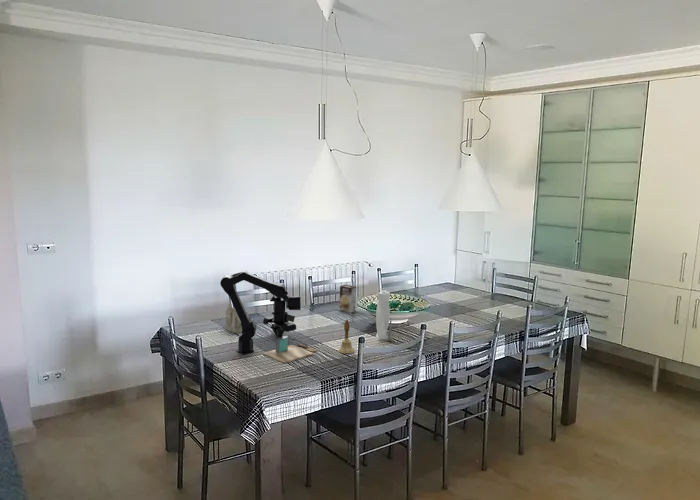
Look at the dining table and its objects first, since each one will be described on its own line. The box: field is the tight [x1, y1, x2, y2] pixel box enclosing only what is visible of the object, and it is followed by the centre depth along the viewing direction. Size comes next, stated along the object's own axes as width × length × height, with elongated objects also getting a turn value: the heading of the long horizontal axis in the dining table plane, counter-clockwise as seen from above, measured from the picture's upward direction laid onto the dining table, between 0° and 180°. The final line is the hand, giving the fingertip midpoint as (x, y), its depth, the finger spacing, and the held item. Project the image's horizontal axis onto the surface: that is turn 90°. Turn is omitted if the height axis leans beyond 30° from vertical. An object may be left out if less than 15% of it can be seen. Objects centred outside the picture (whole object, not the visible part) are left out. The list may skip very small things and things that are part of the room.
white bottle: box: [375, 288, 393, 342], centre depth 287 cm, size 8×8×28 cm
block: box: [275, 336, 290, 353], centre depth 260 cm, size 6×2×7 cm, turn 137°
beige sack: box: [223, 302, 250, 334], centre depth 297 cm, size 16×16×15 cm
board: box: [263, 344, 314, 364], centre depth 259 cm, size 18×16×1 cm
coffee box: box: [338, 284, 357, 314], centre depth 341 cm, size 9×6×16 cm
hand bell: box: [337, 319, 355, 355], centre depth 266 cm, size 8×8×16 cm
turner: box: [297, 343, 318, 353], centre depth 269 cm, size 3×12×1 cm, turn 47°
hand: (279, 340), depth 262 cm, fingers closed
